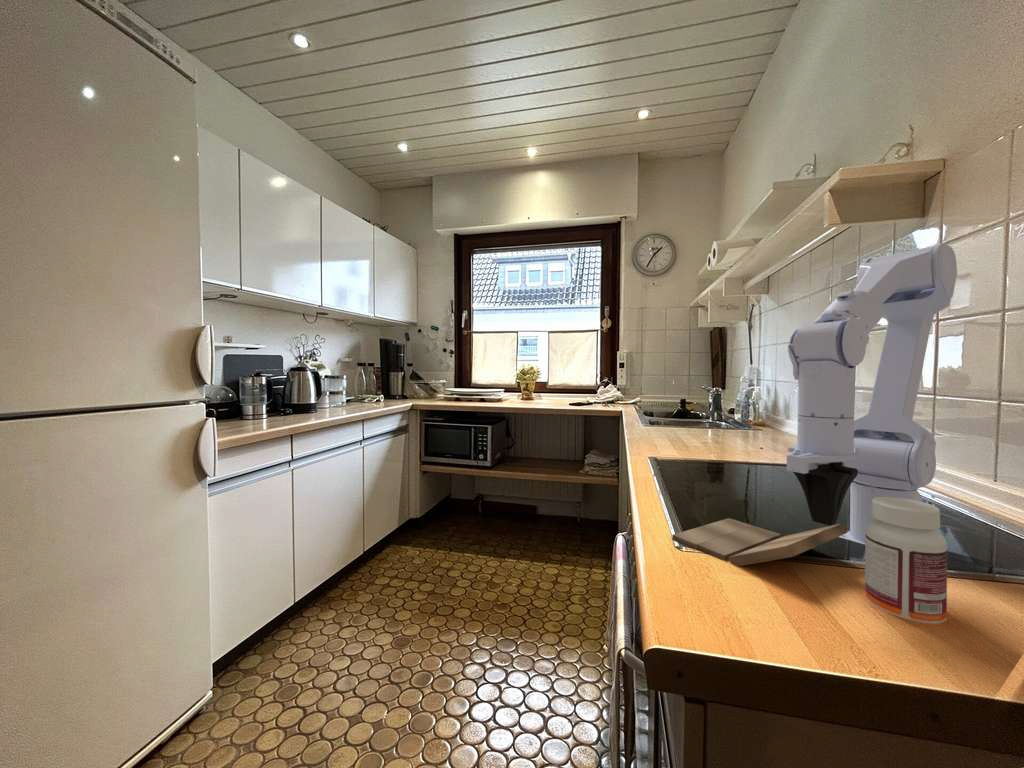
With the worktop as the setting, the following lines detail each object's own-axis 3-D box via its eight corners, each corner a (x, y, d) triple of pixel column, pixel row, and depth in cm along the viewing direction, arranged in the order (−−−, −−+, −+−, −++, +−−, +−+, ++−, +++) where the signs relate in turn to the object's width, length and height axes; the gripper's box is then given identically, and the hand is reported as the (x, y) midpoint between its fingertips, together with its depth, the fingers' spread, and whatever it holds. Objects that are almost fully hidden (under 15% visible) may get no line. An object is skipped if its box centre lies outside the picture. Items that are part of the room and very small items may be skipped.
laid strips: (728, 525, 67) (728, 518, 67) (785, 543, 60) (785, 535, 60) (672, 542, 60) (672, 534, 60) (728, 566, 53) (729, 557, 53)
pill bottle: (945, 611, 42) (947, 503, 42) (947, 638, 38) (949, 518, 38) (867, 589, 47) (868, 491, 47) (861, 611, 43) (862, 503, 42)
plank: (789, 544, 59) (784, 535, 60) (847, 532, 53) (841, 523, 54) (732, 567, 52) (728, 557, 53) (792, 556, 46) (786, 545, 47)
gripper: (816, 411, 59) (815, 505, 59) (761, 416, 52) (759, 522, 52) (878, 415, 53) (877, 519, 53) (826, 421, 46) (824, 542, 46)
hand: (823, 522), depth 52 cm, fingers closed
